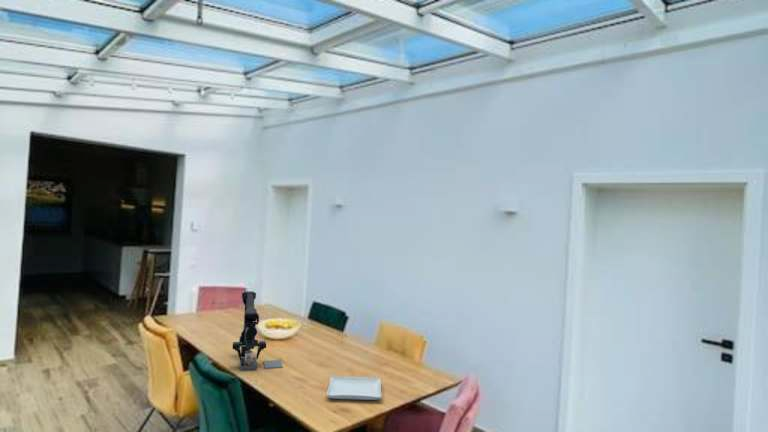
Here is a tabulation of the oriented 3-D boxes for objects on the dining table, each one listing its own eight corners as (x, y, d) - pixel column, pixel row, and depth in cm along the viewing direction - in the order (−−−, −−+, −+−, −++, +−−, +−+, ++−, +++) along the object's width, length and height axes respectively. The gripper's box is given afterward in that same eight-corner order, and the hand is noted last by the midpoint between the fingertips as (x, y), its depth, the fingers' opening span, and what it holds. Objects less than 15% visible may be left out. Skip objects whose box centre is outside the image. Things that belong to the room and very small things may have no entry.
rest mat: (263, 361, 277) (263, 360, 277) (280, 361, 280) (280, 360, 280) (264, 368, 265) (265, 367, 265) (282, 367, 268) (282, 366, 268)
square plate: (380, 384, 251) (380, 377, 251) (381, 404, 223) (382, 396, 224) (330, 382, 250) (330, 375, 250) (325, 402, 223) (326, 394, 223)
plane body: (240, 362, 274) (240, 351, 275) (255, 361, 277) (256, 350, 277) (240, 370, 259) (241, 359, 259) (257, 369, 262) (257, 358, 262)
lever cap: (244, 359, 271) (245, 349, 271) (251, 359, 272) (252, 349, 272) (245, 362, 265) (245, 352, 265) (252, 362, 266) (252, 352, 266)
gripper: (233, 337, 258) (231, 364, 258) (267, 336, 264) (266, 363, 264) (233, 332, 268) (231, 358, 268) (266, 331, 274) (264, 357, 274)
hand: (248, 359), depth 268 cm, fingers open, 9 cm apart
